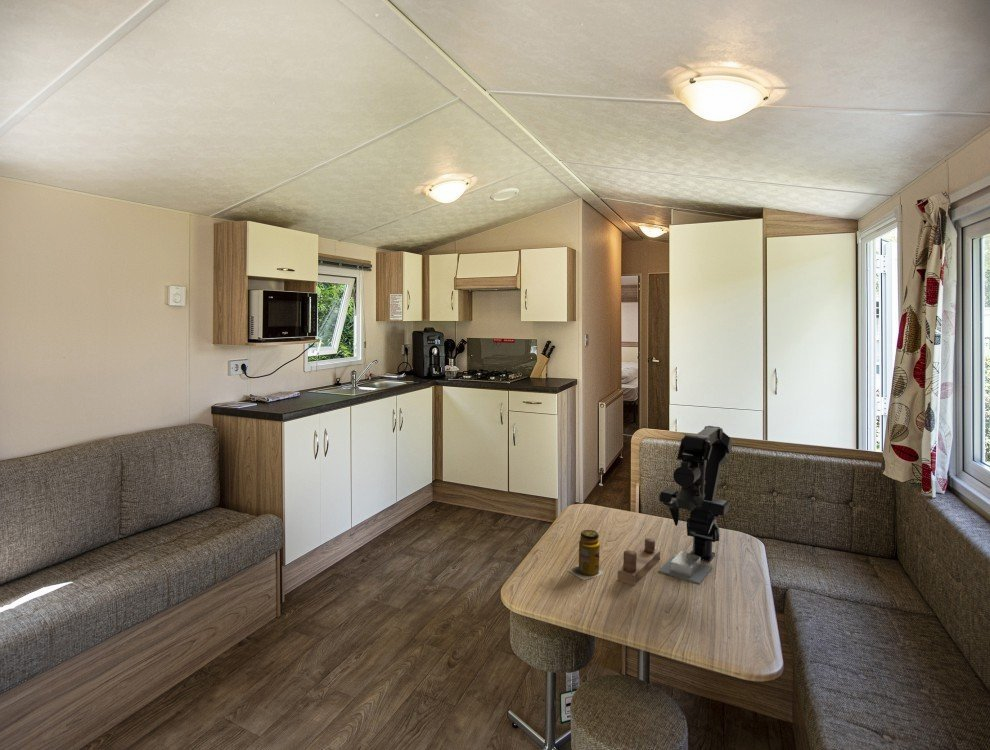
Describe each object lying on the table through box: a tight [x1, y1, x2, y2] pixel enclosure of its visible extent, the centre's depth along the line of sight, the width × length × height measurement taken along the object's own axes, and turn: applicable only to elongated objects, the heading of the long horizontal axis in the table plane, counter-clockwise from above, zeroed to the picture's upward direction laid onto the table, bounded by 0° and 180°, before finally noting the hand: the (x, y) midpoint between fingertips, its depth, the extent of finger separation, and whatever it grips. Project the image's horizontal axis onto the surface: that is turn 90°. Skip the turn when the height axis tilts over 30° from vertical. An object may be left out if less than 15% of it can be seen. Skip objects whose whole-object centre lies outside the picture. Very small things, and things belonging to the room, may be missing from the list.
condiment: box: [567, 529, 606, 581], centre depth 157 cm, size 7×8×12 cm
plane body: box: [617, 537, 661, 586], centre depth 159 cm, size 20×5×8 cm, turn 142°
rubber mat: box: [658, 555, 713, 585], centre depth 159 cm, size 12×12×1 cm
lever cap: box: [670, 550, 702, 578], centre depth 158 cm, size 9×6×3 cm, turn 142°
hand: (691, 529), depth 157 cm, fingers open, 9 cm apart
